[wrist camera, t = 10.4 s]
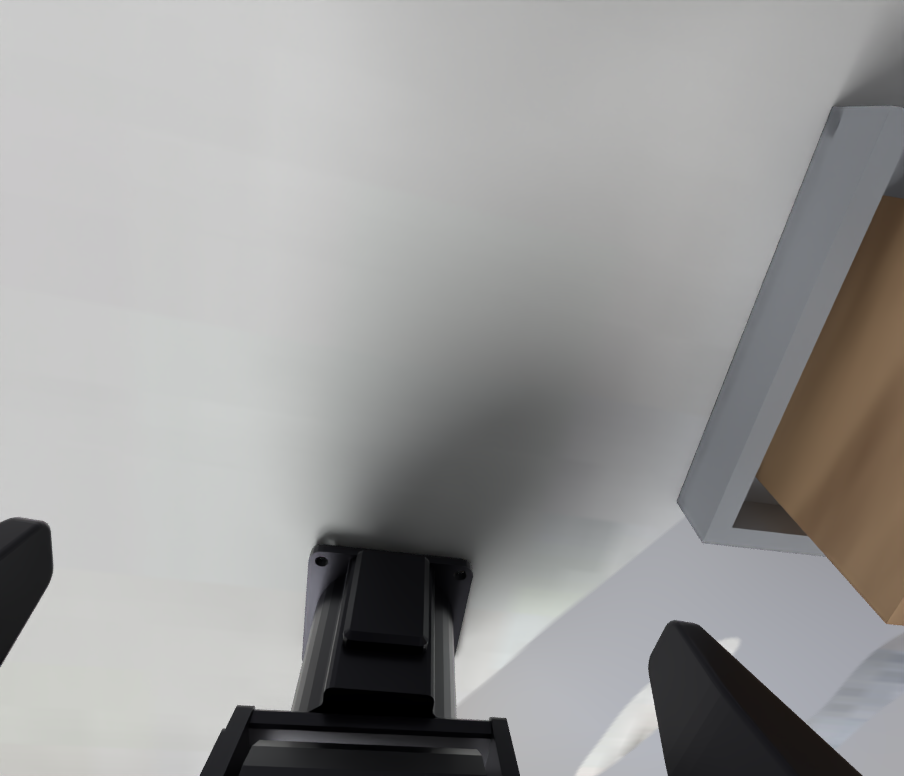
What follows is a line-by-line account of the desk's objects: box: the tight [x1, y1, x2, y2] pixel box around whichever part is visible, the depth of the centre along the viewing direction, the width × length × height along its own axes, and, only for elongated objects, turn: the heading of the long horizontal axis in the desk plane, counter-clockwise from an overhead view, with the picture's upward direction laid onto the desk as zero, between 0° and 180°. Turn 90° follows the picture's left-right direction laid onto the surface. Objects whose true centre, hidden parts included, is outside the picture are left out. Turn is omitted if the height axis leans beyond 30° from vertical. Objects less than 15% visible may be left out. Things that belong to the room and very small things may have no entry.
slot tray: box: [677, 105, 904, 557], centre depth 19 cm, size 14×9×2 cm, turn 171°
